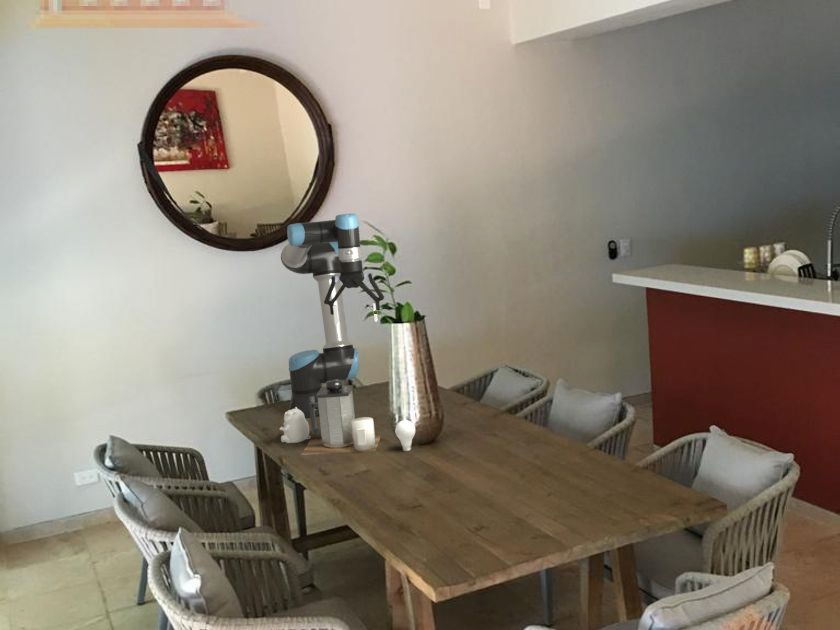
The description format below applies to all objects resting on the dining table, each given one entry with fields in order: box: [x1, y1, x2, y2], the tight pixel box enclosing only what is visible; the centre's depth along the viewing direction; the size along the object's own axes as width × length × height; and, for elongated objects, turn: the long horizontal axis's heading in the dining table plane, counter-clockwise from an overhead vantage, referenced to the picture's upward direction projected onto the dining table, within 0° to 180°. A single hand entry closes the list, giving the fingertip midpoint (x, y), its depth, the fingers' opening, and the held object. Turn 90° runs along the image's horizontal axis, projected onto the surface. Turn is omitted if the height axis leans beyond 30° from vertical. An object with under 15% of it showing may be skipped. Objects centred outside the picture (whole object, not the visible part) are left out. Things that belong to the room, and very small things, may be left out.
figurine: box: [278, 407, 311, 444], centre depth 295 cm, size 10×10×12 cm
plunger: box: [325, 380, 343, 391], centre depth 284 cm, size 8×8×18 cm
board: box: [300, 434, 382, 456], centre depth 284 cm, size 16×24×2 cm, turn 87°
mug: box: [351, 416, 376, 452], centre depth 278 cm, size 9×7×9 cm
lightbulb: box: [394, 419, 416, 452], centre depth 273 cm, size 6×6×11 cm
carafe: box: [309, 384, 356, 448], centre depth 285 cm, size 11×14×18 cm
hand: (356, 322), depth 295 cm, fingers open, 13 cm apart
